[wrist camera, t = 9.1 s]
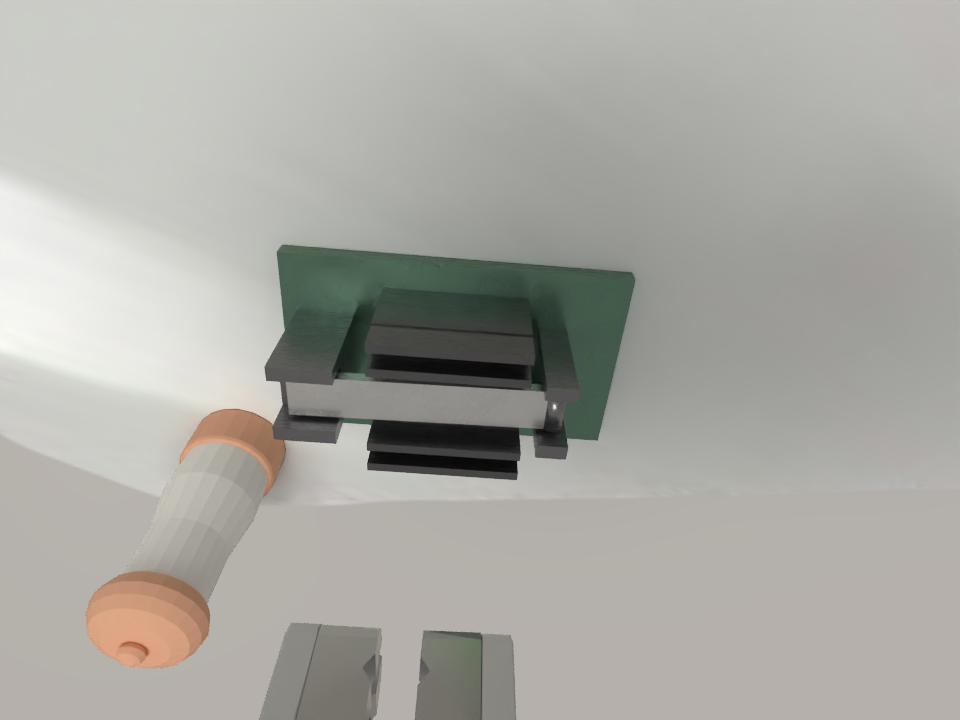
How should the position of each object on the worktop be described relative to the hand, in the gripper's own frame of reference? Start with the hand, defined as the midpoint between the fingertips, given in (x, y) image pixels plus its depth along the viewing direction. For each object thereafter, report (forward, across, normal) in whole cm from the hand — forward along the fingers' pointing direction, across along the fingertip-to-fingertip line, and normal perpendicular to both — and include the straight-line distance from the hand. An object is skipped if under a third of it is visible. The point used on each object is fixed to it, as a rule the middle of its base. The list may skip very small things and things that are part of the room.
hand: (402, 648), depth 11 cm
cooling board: (+33, 0, +14) cm, 36 cm away
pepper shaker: (+33, +17, +25) cm, 45 cm away
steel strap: (+27, +1, +14) cm, 30 cm away
